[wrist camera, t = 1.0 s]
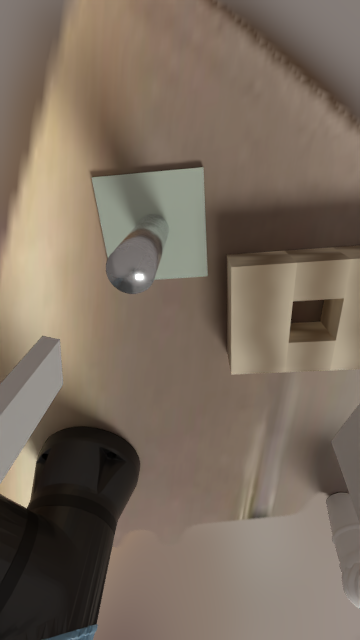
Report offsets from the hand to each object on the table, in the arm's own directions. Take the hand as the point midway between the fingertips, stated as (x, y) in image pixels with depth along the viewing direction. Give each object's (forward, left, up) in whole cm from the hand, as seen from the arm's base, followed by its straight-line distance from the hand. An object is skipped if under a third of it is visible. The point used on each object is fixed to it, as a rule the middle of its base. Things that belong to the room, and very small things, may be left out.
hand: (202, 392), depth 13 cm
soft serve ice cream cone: (+21, -41, -20) cm, 50 cm away
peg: (-4, +4, -19) cm, 20 cm away
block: (+11, -5, -19) cm, 23 cm away
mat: (-4, +4, -19) cm, 20 cm away
